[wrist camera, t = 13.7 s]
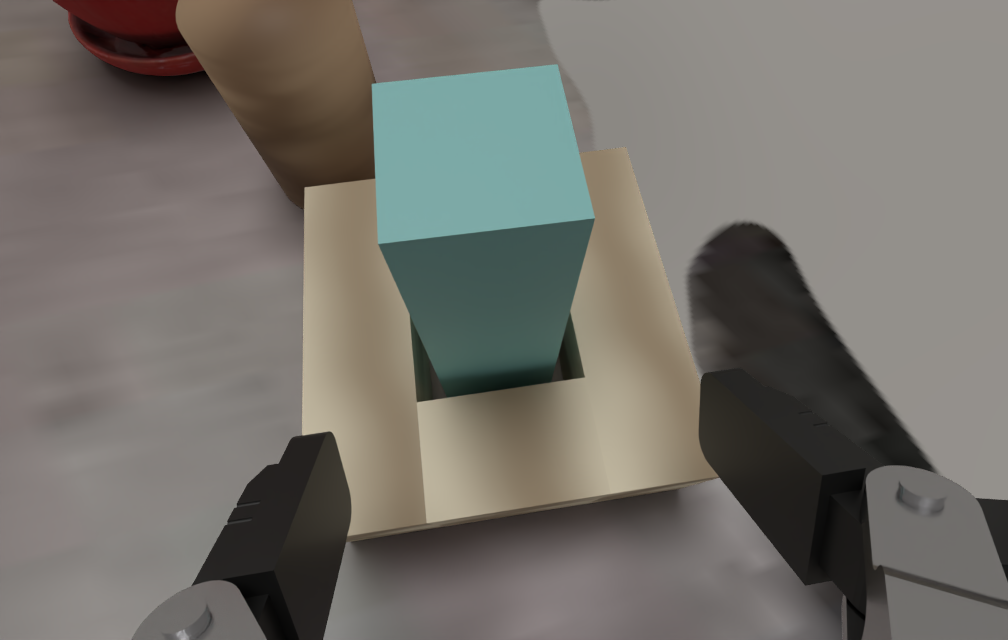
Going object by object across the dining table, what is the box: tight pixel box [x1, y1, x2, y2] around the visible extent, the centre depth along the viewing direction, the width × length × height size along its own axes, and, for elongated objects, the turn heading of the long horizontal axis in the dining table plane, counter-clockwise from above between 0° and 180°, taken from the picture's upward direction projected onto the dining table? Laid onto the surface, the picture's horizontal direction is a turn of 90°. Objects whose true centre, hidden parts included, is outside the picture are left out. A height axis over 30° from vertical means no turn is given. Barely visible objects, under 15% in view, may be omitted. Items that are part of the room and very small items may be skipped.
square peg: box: [372, 64, 595, 398], centre depth 16 cm, size 4×4×13 cm
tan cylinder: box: [176, 0, 376, 209], centre depth 22 cm, size 6×6×9 cm
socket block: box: [302, 147, 720, 542], centre depth 20 cm, size 13×13×5 cm
